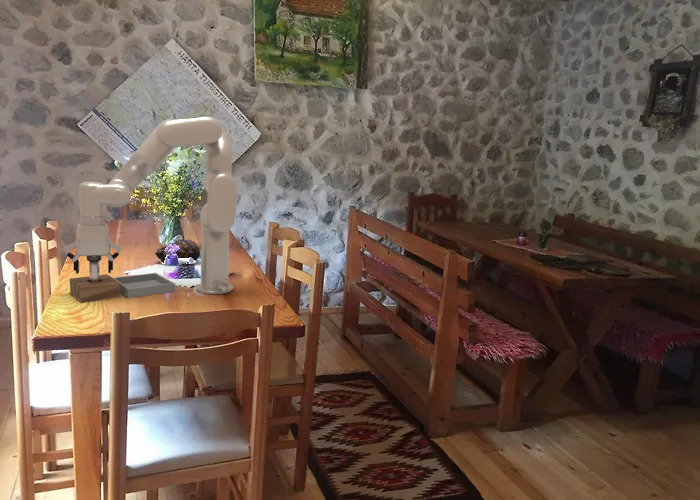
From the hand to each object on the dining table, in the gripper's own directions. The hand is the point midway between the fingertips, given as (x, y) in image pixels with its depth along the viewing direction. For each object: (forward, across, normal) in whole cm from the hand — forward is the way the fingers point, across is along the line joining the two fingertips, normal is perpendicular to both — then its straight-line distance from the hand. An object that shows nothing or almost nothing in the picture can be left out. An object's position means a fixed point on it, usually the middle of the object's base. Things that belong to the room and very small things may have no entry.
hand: (93, 272), depth 190 cm
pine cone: (+8, -30, -41) cm, 51 cm away
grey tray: (+8, -15, -6) cm, 18 cm away
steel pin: (+8, 0, 0) cm, 8 cm away
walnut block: (+8, 0, 0) cm, 8 cm away
